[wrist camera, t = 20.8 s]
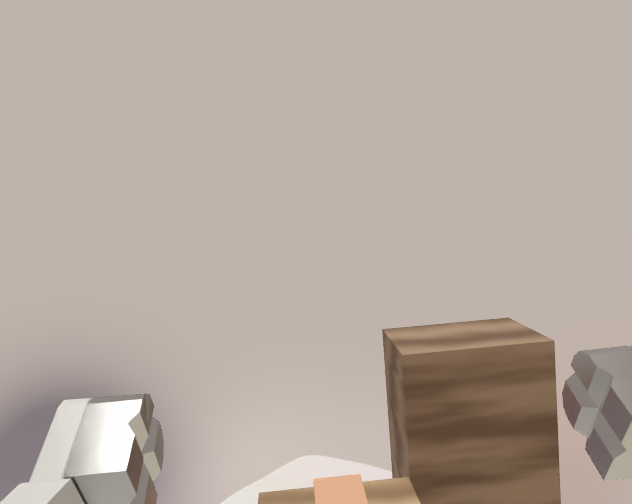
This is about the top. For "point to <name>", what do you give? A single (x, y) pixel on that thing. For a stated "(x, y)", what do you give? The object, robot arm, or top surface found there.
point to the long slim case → (340, 490)
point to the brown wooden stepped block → (465, 417)
